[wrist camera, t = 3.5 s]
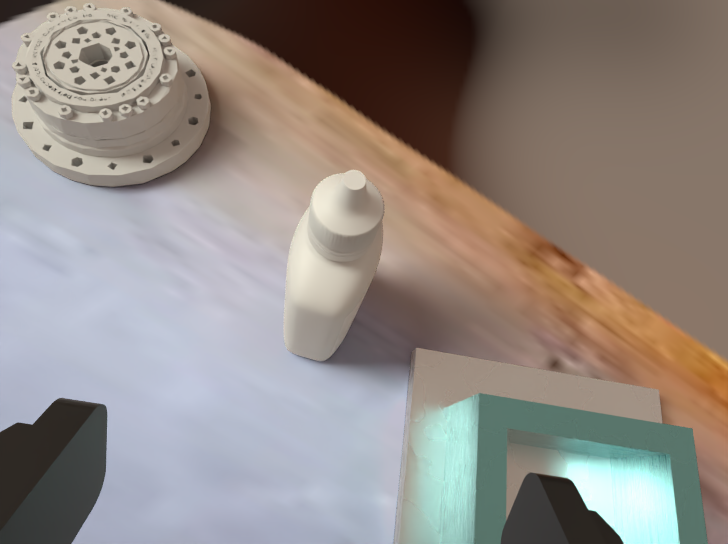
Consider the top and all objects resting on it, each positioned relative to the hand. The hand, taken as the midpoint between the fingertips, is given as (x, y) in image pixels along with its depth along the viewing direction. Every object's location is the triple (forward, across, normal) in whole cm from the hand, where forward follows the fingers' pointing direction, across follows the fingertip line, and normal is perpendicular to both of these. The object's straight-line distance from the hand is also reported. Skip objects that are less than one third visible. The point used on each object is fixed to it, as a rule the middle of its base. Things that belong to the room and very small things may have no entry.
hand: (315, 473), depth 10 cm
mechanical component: (+23, +13, -2) cm, 26 cm away
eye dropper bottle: (+16, 0, +4) cm, 17 cm away
